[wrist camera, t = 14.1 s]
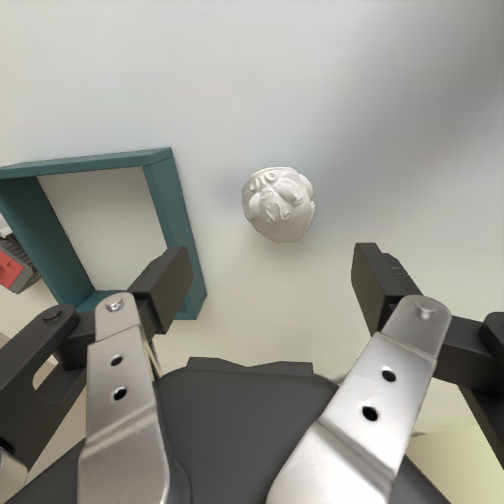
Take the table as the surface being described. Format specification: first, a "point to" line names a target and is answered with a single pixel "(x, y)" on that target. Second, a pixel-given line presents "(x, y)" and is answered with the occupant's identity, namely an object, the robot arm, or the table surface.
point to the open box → (56, 242)
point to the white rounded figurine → (279, 203)
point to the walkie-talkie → (14, 262)
